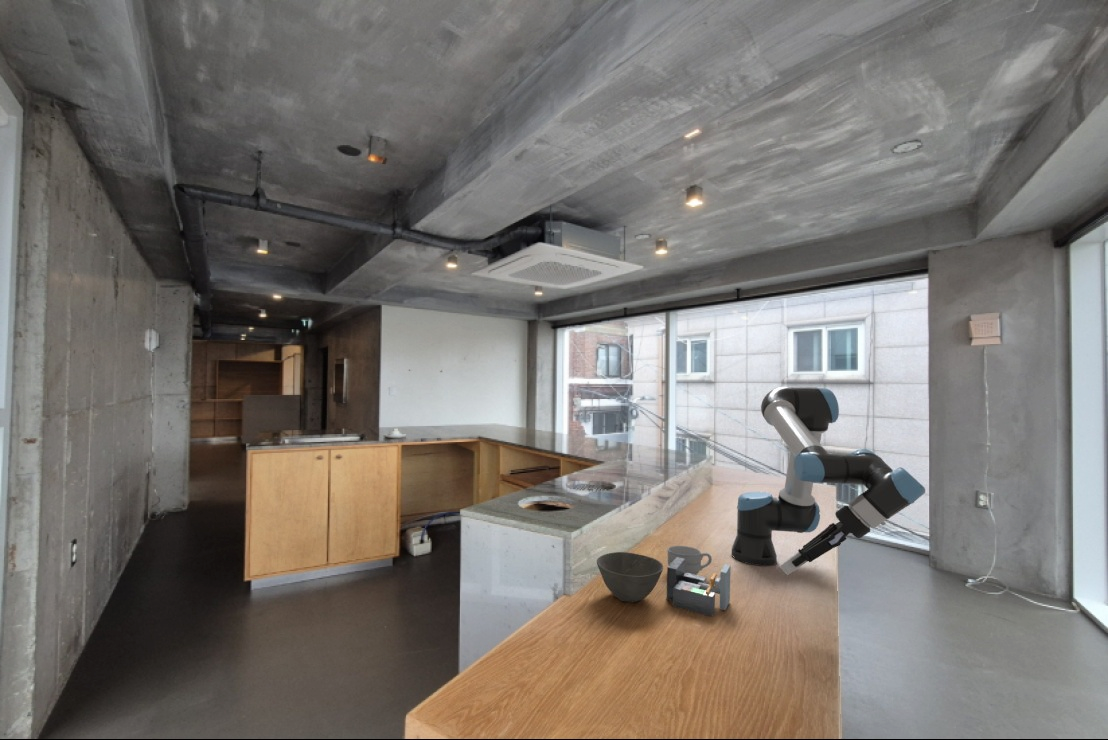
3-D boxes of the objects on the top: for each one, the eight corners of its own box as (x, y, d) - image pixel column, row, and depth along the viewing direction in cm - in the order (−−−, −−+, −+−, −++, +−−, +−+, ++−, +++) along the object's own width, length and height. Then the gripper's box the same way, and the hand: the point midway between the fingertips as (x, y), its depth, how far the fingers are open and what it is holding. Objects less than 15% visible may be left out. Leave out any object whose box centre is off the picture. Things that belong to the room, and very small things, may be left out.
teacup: (664, 576, 150) (665, 551, 150) (669, 565, 160) (669, 541, 160) (710, 585, 145) (710, 559, 145) (712, 573, 155) (712, 548, 155)
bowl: (674, 598, 134) (675, 563, 135) (638, 621, 120) (639, 581, 121) (620, 579, 147) (621, 546, 147) (582, 597, 133) (583, 561, 134)
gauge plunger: (701, 593, 137) (702, 559, 138) (729, 600, 133) (730, 565, 134) (695, 602, 131) (696, 566, 132) (725, 610, 127) (726, 572, 128)
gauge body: (676, 587, 142) (676, 557, 143) (721, 598, 136) (722, 566, 136) (662, 603, 131) (663, 571, 131) (711, 616, 124) (712, 582, 124)
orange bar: (713, 580, 135) (713, 572, 135) (716, 581, 134) (716, 573, 135) (705, 594, 125) (705, 586, 125) (708, 595, 125) (708, 586, 125)
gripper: (874, 536, 109) (793, 591, 117) (870, 523, 120) (796, 574, 128) (848, 509, 112) (770, 565, 119) (845, 499, 123) (775, 550, 131)
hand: (783, 569), depth 124 cm, fingers closed
